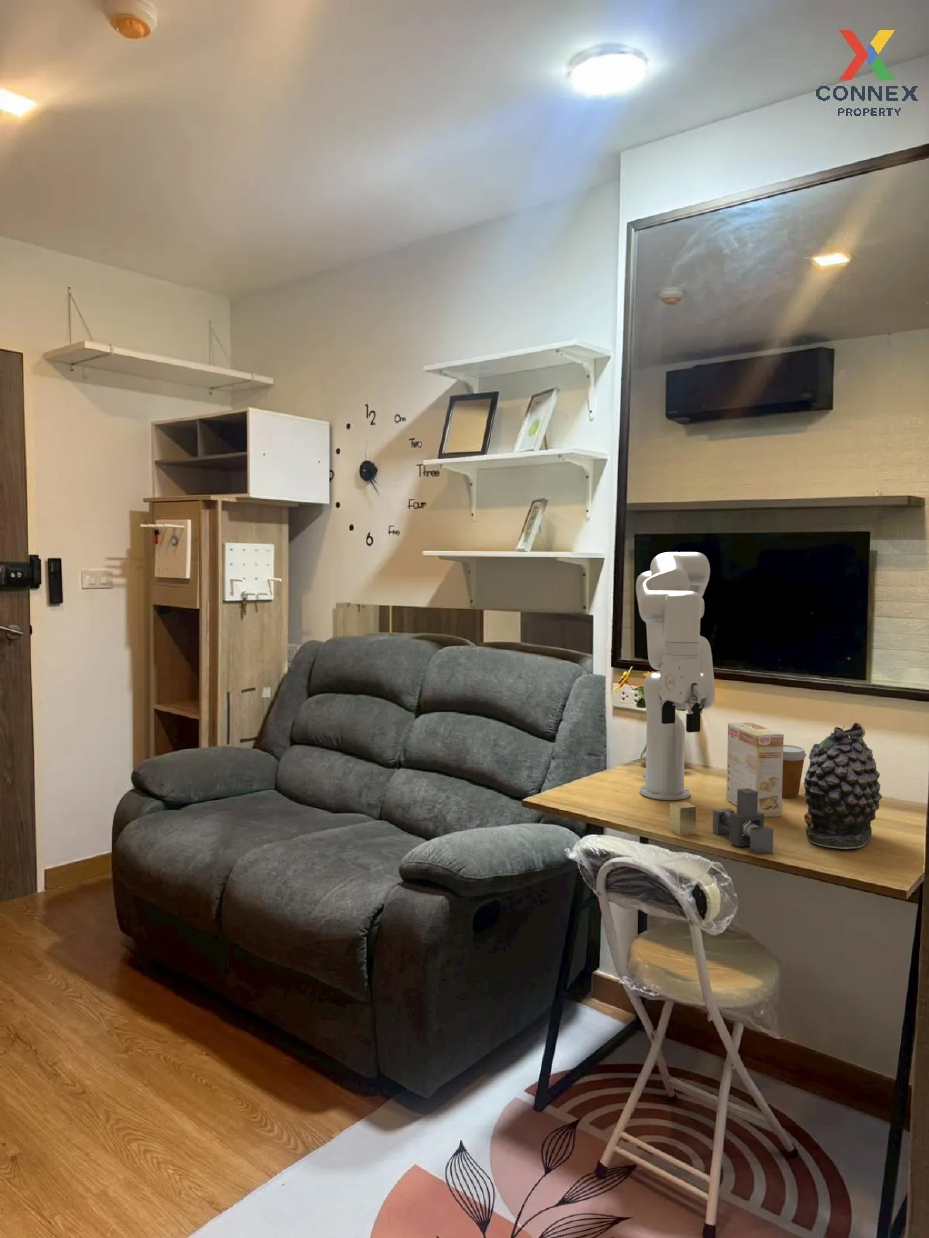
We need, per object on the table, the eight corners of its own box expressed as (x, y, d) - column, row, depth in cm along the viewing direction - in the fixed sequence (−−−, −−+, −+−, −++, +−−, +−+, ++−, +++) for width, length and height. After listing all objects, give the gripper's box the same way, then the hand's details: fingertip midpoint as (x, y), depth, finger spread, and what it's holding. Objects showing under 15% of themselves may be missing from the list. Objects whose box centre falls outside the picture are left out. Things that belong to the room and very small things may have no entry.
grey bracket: (729, 841, 175) (730, 789, 174) (754, 838, 177) (755, 787, 176) (738, 846, 172) (739, 793, 171) (763, 843, 174) (764, 791, 173)
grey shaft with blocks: (712, 832, 183) (713, 809, 182) (728, 830, 184) (728, 807, 183) (756, 854, 168) (756, 830, 168) (772, 852, 170) (773, 828, 169)
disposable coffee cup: (809, 800, 206) (810, 753, 206) (769, 798, 208) (770, 751, 207) (800, 790, 216) (801, 744, 215) (762, 788, 217) (763, 743, 216)
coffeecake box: (782, 816, 194) (785, 734, 192) (754, 817, 193) (756, 735, 191) (751, 798, 208) (753, 721, 207) (725, 799, 207) (726, 722, 206)
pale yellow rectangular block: (669, 829, 184) (670, 803, 184) (685, 827, 186) (685, 801, 185) (679, 835, 181) (680, 808, 180) (695, 833, 182) (696, 806, 182)
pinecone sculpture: (814, 820, 191) (817, 713, 189) (886, 832, 182) (890, 720, 181) (791, 845, 174) (794, 728, 172) (869, 860, 165) (874, 736, 164)
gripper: (645, 646, 187) (644, 721, 188) (689, 654, 171) (687, 736, 172) (675, 645, 189) (673, 719, 191) (720, 653, 173) (718, 734, 174)
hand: (680, 727), depth 181 cm, fingers open, 9 cm apart
